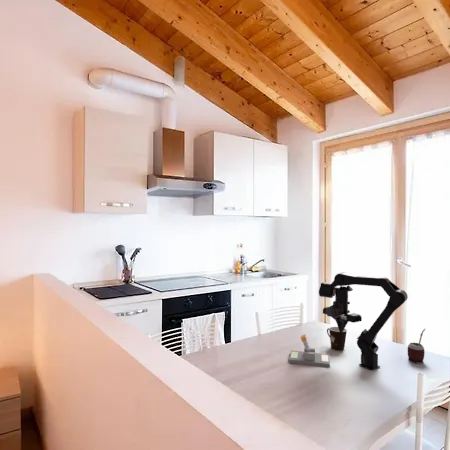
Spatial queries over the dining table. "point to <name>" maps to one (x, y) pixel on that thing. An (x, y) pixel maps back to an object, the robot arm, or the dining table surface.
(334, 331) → the coffee mug
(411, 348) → the mate gourd
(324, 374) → the dining table surface
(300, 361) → the switch panel
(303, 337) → the lever
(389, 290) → the robot arm
